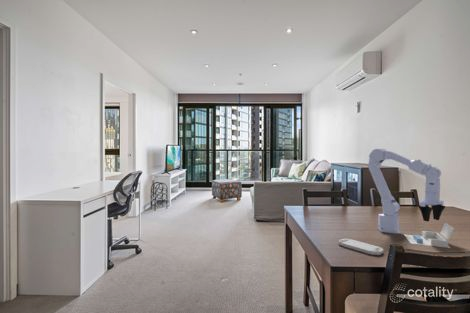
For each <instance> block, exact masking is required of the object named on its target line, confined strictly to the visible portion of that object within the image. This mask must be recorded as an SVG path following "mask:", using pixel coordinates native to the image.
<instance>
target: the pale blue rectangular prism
mask: <svg viewBox="0 0 470 313" xmlns="http://www.w3.org/2000/svg"><path fill="white" fill-rule="evenodd" d="M412 235H413V239H414V240H415V241H416V242H417V243H423V239H422V238H421V237H420V236H421V235H419V234H412Z"/></svg>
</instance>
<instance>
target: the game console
mask: <svg viewBox="0 0 470 313" xmlns="http://www.w3.org/2000/svg"><path fill="white" fill-rule="evenodd" d="M338 243H339V245H340V246H342V247H343V248H346V249H350V250H353V251H357V252H361V253H363V254H368V255H372V256H381V255H382V254H383V253H384V248H382V247H381V246H377V245H374V244H371V243H367V242H364V241H363V242H362V241H360V240H355V239H352V238H340V239H339V240H338Z"/></svg>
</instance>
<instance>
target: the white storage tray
mask: <svg viewBox="0 0 470 313" xmlns="http://www.w3.org/2000/svg"><path fill="white" fill-rule="evenodd" d="M403 235H404V236H405V238H406V239H407V241H408V242H409V243H410V244H413V245H421V246H428V247H429V246H431V247H439V248H449V249H451V246H449V240H448V239H446V238H445V237H444V236H443V235H441V234H440V232H437V231H427V230H422V231H421V235H419V236H420V237H421V238H422V239H423V243H417V242H416V241H415V240H414V239H413V235H414V234H412V235H411V234H403Z"/></svg>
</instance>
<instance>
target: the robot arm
mask: <svg viewBox="0 0 470 313" xmlns="http://www.w3.org/2000/svg"><path fill="white" fill-rule="evenodd" d="M368 157H369V158H368V165H367V168H368V170H369V172H370V175H371V177H372V180H373V182H374V184H375V186H376V189H377V192H378V193H379V196H380V198H381V199H380V201H381V202H380V203H381V206H382V208H381V210H382V213H378V216H377V217H378V219H377V229H378V230H379V232H380V233H390V234H401V231H400V229H399V225H400V224H399V223H400V214H399V211H400V210H401V205H400V204H399V203H398V202H397V201H396V199H395V197H394V196H393V195H392V193H391V191H390V188H389V187H388V183H387V181H386V180H385V178H384V174H383V172H382V171H381V165H382V164H383V162H384V161H385V160H393V161H395V162H398V163H400V164H403V165H404V166H407V167H408V170H410V171H411V172H415V173H417V174H418V175H421V176H424V177H425V185H424V186H425V188H424V200H422V201H420V202H419V204H418V209H419V211H420V212H421V215H422V219H423V221H424V222H430V219H431V214H432V218H433V220H436V221H439V220H441V219H440V218H441V215H442V213H443V211H444V210H445V209H446V205H444V203H445V202H444V200H441V198H440V197H441V196H440V195H441V194H440V193H441V178H440V177H441V176H442V171H441V169H439V168H438V167H437V166H432V164H427V163H425V162H423V161H422V160H421V159H417V158H415V159H413V160H412V159H409V158H407V157H405V156H402V155H400V154H398V153H396V152H394V151H391V150H387V149H384V148H375V149H372V151H371V152H370V154H369V155H368Z"/></svg>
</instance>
